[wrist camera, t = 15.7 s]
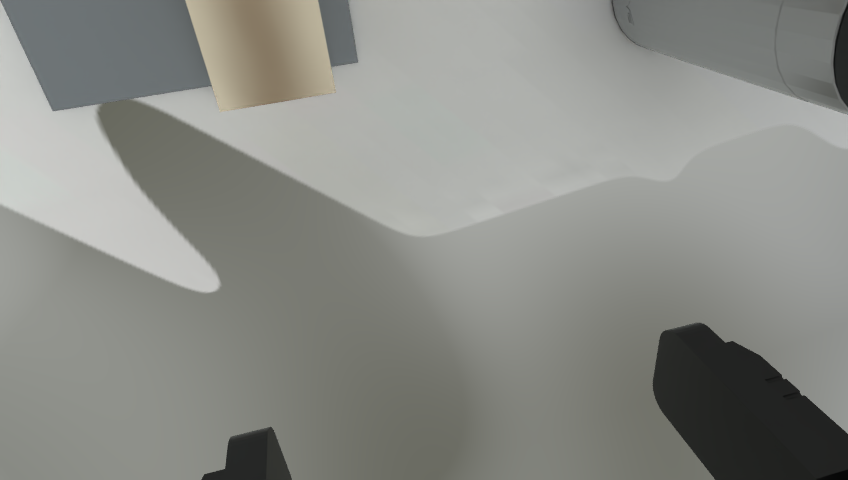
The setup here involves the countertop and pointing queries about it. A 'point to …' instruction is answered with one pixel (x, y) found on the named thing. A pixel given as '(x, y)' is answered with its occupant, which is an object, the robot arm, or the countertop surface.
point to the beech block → (262, 50)
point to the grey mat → (130, 47)
